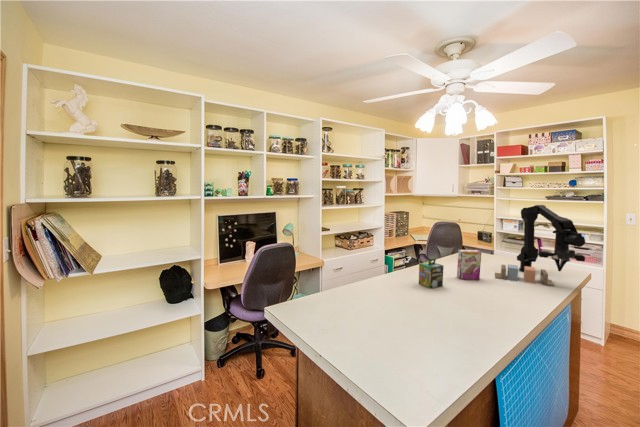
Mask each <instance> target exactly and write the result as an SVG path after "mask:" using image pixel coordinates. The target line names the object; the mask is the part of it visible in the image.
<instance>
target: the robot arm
mask: <svg viewBox="0 0 640 427" xmlns="http://www.w3.org/2000/svg"><path fill="white" fill-rule="evenodd" d="M539 215H540V216H542V217H543V218H544V219H546V220H547V221H549V222H550V223H551V226H552V227H553V228H554V229H555V230H553V231H552V233H553V234H555V236H554V237H555V238H554V251H553V252H549V251H548V250H541V249H538V248H536V246H535V223H536V221H537V219H538V216H539ZM520 217H521V219H522V221H523V222H524V225H523V226H524V230H523V231H524V233H523V238H524V240H523V246H522V247H521V250H520V253H519V254H518V255H516V261H519V262H520V266H519V267H518V271H520V272H524V266H527V267H533V266H532V265H533V264H532V263H533V262H534V263H535V262H537V259H538V257H539V258H545V259H546V258H549V257H550V258H551V259H552V260H553V261H554V263H555V266H556V268H557V271H558V272H562V270H563V267H564V266H565V265H566V264H567V263H568V262H571V259H575V261H577V262H585V261H586V256H585V255H583V254H582V253H576V251H575V250H574V249H573V250H571V249H570V246H572V247H576V248H577V247H578V248H580V247H584V245H585V244H586V239H585V237H584V236H583V235H582V234H583V233H582V232H578V230H577V228H576V227H575V224H574V222H573V221H572V220H571V219H569V218H566V217H563V216H560V215H558V214H557V213H555V212H554V211H552V210H550V209H549V208H548V207H546V205H544V204H535V205H533V206H529V207H523V208H522V209H521V210H520Z"/></svg>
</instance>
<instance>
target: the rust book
mask: <svg viewBox="0 0 640 427" xmlns="http://www.w3.org/2000/svg"><path fill="white" fill-rule="evenodd" d="M536 272H537V270H536V268H535V267H534V266H531V267H527V266H524V271H523V280H525V281H524V282H525V283H532V284H536V275H537V274H536Z"/></svg>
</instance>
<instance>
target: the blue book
mask: <svg viewBox="0 0 640 427" xmlns="http://www.w3.org/2000/svg"><path fill="white" fill-rule="evenodd" d="M506 274H507V276H506V278H507V280H509V281H510V280H511V281H515V282H518V279H519V267H518V265H516V264H507V272H506Z"/></svg>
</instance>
